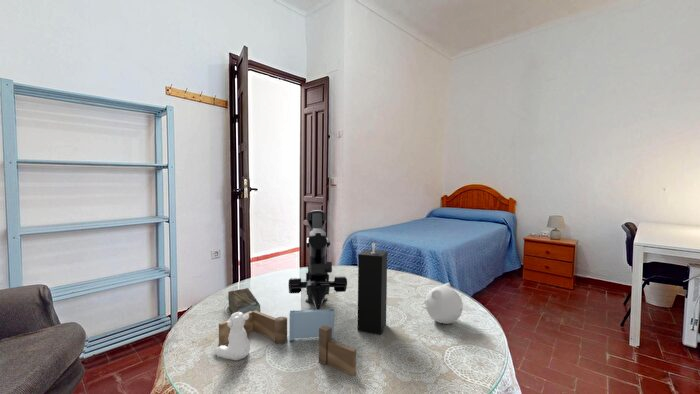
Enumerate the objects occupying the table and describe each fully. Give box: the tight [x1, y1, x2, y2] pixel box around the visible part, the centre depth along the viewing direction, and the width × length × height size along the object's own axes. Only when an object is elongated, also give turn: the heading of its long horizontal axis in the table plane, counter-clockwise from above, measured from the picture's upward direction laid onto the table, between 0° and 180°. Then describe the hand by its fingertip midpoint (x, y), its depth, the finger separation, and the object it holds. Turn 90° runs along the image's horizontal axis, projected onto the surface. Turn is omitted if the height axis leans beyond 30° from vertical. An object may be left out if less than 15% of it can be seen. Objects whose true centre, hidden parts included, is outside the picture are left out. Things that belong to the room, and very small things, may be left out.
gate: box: [288, 308, 335, 341], centre depth 91 cm, size 13×2×8 cm, turn 97°
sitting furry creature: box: [214, 312, 251, 361], centre depth 82 cm, size 10×9×12 cm
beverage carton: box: [227, 287, 261, 314], centre depth 109 cm, size 8×19×6 cm, turn 31°
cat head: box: [420, 282, 464, 325], centre depth 103 cm, size 15×13×12 cm
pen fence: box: [218, 310, 357, 376], centre depth 82 cm, size 14×40×9 cm, turn 55°
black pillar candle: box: [357, 242, 388, 335], centre depth 98 cm, size 8×8×28 cm
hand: (318, 310), depth 93 cm, fingers closed
